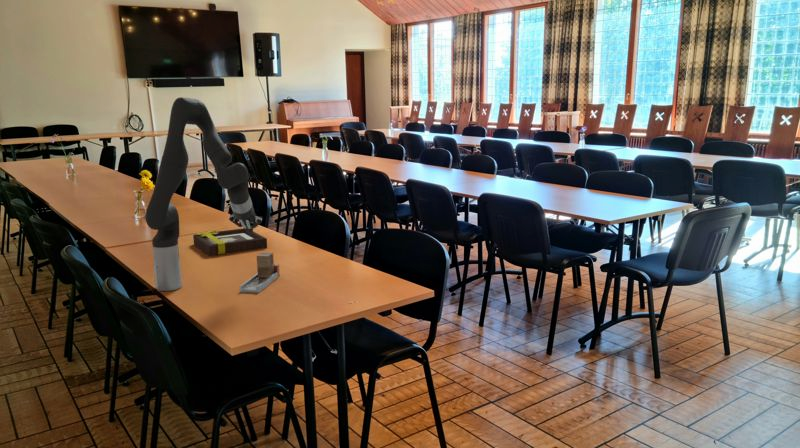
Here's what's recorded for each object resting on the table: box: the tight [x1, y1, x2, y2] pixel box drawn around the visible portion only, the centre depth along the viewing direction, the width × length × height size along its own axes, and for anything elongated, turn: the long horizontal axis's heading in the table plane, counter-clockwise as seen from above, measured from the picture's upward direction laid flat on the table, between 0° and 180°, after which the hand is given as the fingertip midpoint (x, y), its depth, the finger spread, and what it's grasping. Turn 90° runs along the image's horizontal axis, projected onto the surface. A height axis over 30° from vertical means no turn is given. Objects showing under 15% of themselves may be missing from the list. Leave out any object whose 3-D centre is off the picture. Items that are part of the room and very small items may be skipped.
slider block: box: [256, 251, 275, 278], centre depth 244 cm, size 5×5×9 cm
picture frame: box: [193, 227, 268, 257], centre depth 300 cm, size 28×7×30 cm
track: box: [239, 263, 281, 294], centre depth 239 cm, size 22×8×5 cm, turn 170°
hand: (249, 231), depth 236 cm, fingers closed
